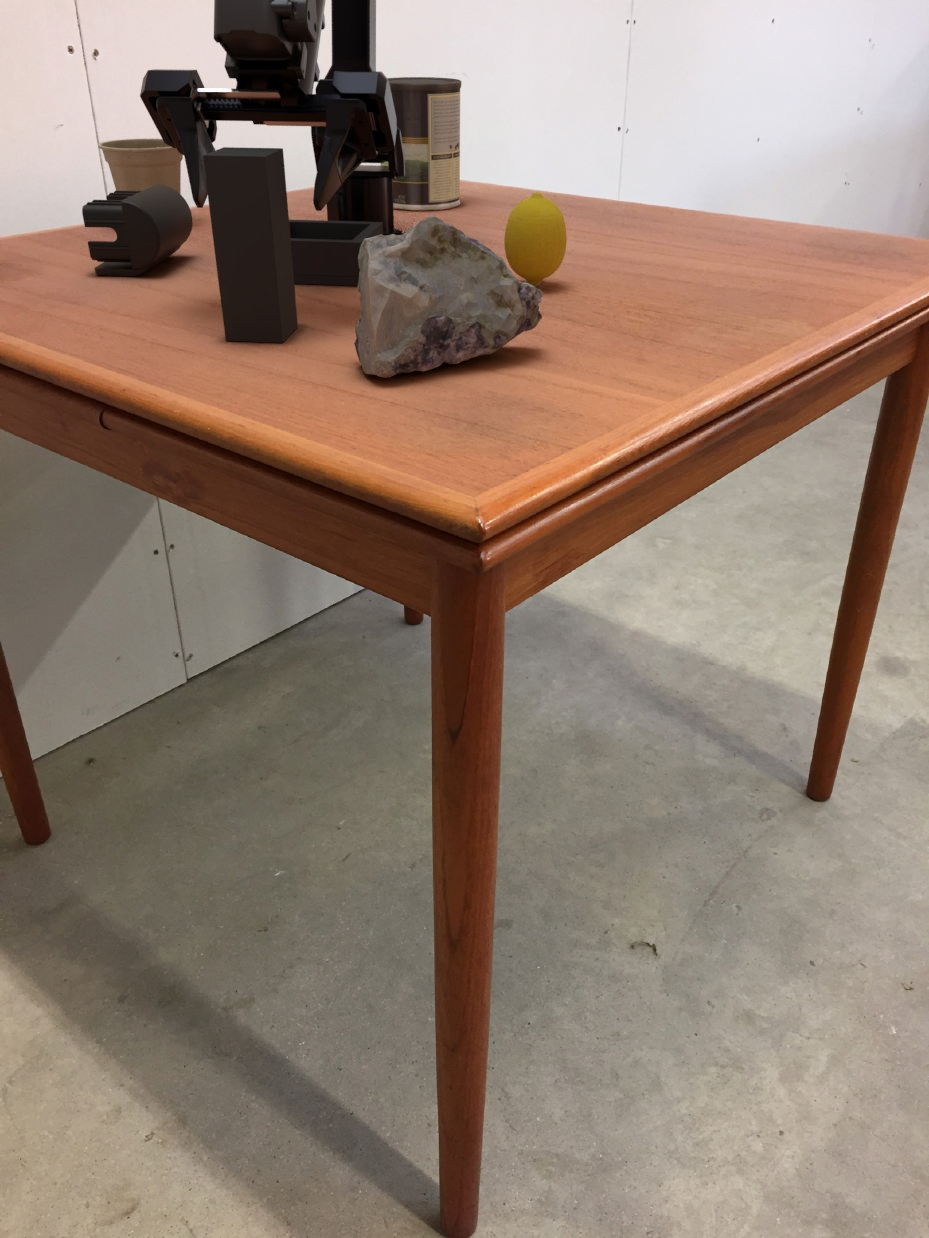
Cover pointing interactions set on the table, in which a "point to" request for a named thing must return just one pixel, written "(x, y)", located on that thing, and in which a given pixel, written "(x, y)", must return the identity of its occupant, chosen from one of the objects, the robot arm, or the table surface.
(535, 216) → the lemon
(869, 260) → the table surface
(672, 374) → the table surface
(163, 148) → the flower pot
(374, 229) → the socket pad
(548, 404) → the table surface
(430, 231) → the mineral rock
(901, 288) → the table surface
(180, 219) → the end cap
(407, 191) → the coffee can
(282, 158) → the pad block
